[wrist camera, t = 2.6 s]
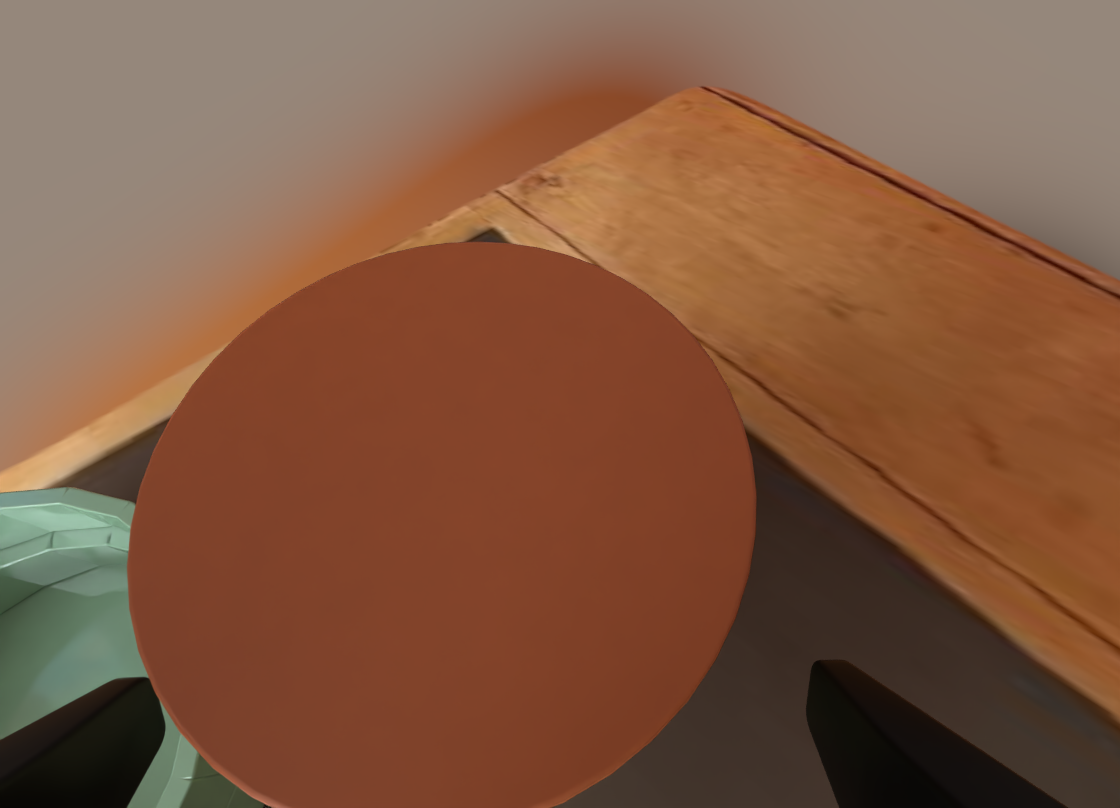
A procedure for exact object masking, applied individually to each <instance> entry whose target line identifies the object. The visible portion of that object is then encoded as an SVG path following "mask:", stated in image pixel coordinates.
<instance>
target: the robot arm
mask: <svg viewBox="0 0 1120 808" xmlns="http://www.w3.org/2000/svg"><path fill="white" fill-rule="evenodd" d="M806 716H807V722H808V726H809V729H810V732H811V734H812V737H813V740H814V742H815V745H816V748H817V750H818V753H819V755H820V758H821V761H822V763H823V766H824V769H825V771H826V774H827V777H828V779H829V782H830V784H831V787H832V790H833V792H834V795H835V798H836V800H837V803H838V805H839V808H1068V807H1066V806H1065V805H1063V804H1062V803H1060V802H1059V801H1057V800H1056V799H1054V798H1053V797H1051V796H1050V795H1048V794H1047V793H1045V792H1044V791H1042V790H1041V789H1039V788H1038V787H1036V786H1035V785H1033V784H1032V783H1030V782H1029V781H1027V780H1026V779H1024V778H1023V777H1021V776H1020V775H1018V774H1017V773H1015V772H1014V771H1012V770H1011V769H1009V768H1008V767H1006V766H1005V765H1003V764H1002V763H1000V762H999V761H997V760H996V759H994V758H993V757H991V756H990V755H988V754H987V753H985V752H984V751H982V750H981V749H979V748H978V747H976V746H975V745H973V744H972V743H970V742H969V741H967V740H966V739H964V738H963V737H961V736H960V735H958V734H957V733H955V732H954V731H952V730H951V729H949V728H948V727H946V726H944V725H943V724H941V723H940V722H938V721H937V720H935V719H934V718H932V717H931V716H929V715H928V714H926V713H925V712H923V711H922V710H920V709H919V708H917V707H916V706H914V705H913V704H911V703H910V702H908V701H907V700H905V699H904V698H902V697H901V696H899V695H898V694H896V693H895V692H893V691H892V690H890V689H889V688H887V687H886V686H884V685H883V684H881V683H880V682H878V681H877V680H875V679H874V678H872V677H871V676H869V675H868V674H866V673H865V672H863V671H862V670H860V669H859V668H857V667H856V666H854V665H853V664H851V663H849V662H847V661H845V660H818V661H816V662H814V664H813V665H812V668H811V673H810V681H809V689H808V697H807V705H806ZM165 731H166V724H165V719H164V715H163V711H162V708H161V704H160V700H159V698H158V697H157V695H156V693H155V691H154V689H153V686H152V684H151V682H150V679H149V678H147V677H121V678H116V679H113V680H111V681H109V682H107V683H105V684H103V685H101V686H100V687H98V688H96V689H94V690H92V691H90V692H88V693H86V694H85V695H83V696H81V697H79V698H77V699H75V700H73V701H72V702H70V703H68V704H66V705H64V706H62V707H60V708H59V709H57V710H55V711H53V712H51V713H49V714H47V715H45V716H44V717H42V718H40V719H38V720H36V721H34V722H32V723H31V724H29V725H27V726H25V727H23V728H21V729H19V730H18V731H16V732H14V733H12V734H10V735H8V736H6V737H4V738H3V739H1V740H0V808H127V807H128V805H129V803H130V801H131V799H132V798H133V796H134V794H135V792H136V790H137V789H138V787H139V785H140V783H141V781H142V779H143V778H144V776H145V774H146V772H147V770H148V769H149V767H150V765H151V763H152V761H153V760H154V758H155V756H156V754H157V752H158V750H159V749H160V747H161V744H162V742H163V739H164V736H165Z"/></svg>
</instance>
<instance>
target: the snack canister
mask: <svg viewBox="0 0 1120 808" xmlns="http://www.w3.org/2000/svg"><path fill="white" fill-rule="evenodd" d="M755 536H756V487H755V478H754V470H753V462H752V455H751V452H750V448H749V444H748V440H747V437H746V433H745V429H744V425H743V421H742V419H741V416H740V414H739V412H738V409H737V407H736V404H735V402H734V400H733V397H732V395H731V392H730V390H729V388H728V386H727V385H726V383H725V381H724V379H723V378H722V376H721V374H720V372H719V371H718V369H717V367H716V366H715V364H714V362H713V361H712V359H711V358H710V357H709V355H708V354H707V353H706V351H705V350H704V349H703V347H702V346H701V345H700V344H699V342H698V341H697V340H696V338H695V337H694V336H693V335H692V334H691V333H690V332H689V331H688V330H687V329H686V328H685V327H684V325H683V324H682V323H681V322H680V321H679V320H678V319H677V318H676V317H675V316H674V315H673V314H672V313H671V312H669V311H668V310H667V309H666V308H664V307H663V306H662V305H661V304H659V303H658V302H657V301H656V300H654V299H653V298H652V297H651V296H649V295H648V294H647V293H645V292H643V291H642V290H640V289H639V288H637V287H635V286H634V285H632V284H631V283H629V282H627V281H626V280H624V279H623V278H621V277H619V276H617V275H615V274H613V273H611V272H608V271H606V270H604V269H602V268H600V267H598V266H596V265H594V264H591V263H588V262H585V261H583V260H580V259H577V258H574V257H571V256H569V255H565V254H561V253H557V252H553V251H549V250H545V249H541V248H537V247H530V246H523V245H517V244H510V243H493V242H460V243H444V244H436V245H429V246H421V247H415V248H411V249H406V250H402V251H397V252H393V253H389V254H385V255H382V256H379V257H376V258H372V259H369V260H366V261H363V262H360V263H357V264H354V265H352V266H350V267H347V268H345V269H343V270H340V271H338V272H335V273H333V274H331V275H329V276H326V277H324V278H322V279H320V280H318V281H317V282H315V283H313V284H311V285H309V286H307V287H305V288H304V289H302V290H300V291H298V292H296V293H295V294H293V295H292V296H290V297H289V298H287V299H285V300H284V301H282V302H281V303H279V304H278V305H276V306H275V307H273V308H272V309H270V310H269V311H267V312H266V313H265V314H264V315H263V316H261V317H260V318H259V319H257V320H256V321H255V322H254V323H252V324H251V325H250V326H249V327H248V328H246V329H245V330H244V331H242V332H241V333H240V334H239V335H238V336H237V337H236V338H235V339H234V340H233V341H232V342H231V343H230V344H229V345H228V346H227V347H226V348H225V349H224V350H223V351H222V352H221V353H220V354H219V355H218V356H217V357H216V358H215V359H214V360H213V361H212V362H211V364H210V365H209V366H208V367H207V368H206V370H205V371H204V372H203V373H202V374H201V375H200V377H199V378H198V379H197V380H196V381H195V383H194V384H193V385H192V386H191V388H190V389H189V391H188V392H187V394H186V395H185V397H184V398H183V400H182V401H181V403H180V404H179V406H178V407H177V409H176V410H175V412H174V413H173V415H172V416H171V418H170V420H169V422H168V424H167V426H166V428H165V430H164V432H163V433H162V435H161V437H160V439H159V441H158V443H157V445H156V447H155V449H154V451H153V454H152V456H151V459H150V462H149V464H148V467H147V470H146V472H145V475H144V478H143V480H142V483H141V486H140V489H139V493H138V497H137V502H136V506H135V510H134V514H133V519H132V523H131V529H130V539H129V550H128V560H127V578H128V597H129V611H130V615H131V620H132V624H133V629H134V634H135V638H136V643H137V647H138V652H139V654H140V657H141V659H142V662H143V664H144V667H145V669H146V672H147V674H148V677H149V679H150V682H151V684H152V686H153V689H154V691H155V693H156V695H157V697H158V698H159V700H160V701H161V703H162V705H163V706H164V708H165V709H166V711H167V713H168V714H169V716H170V717H171V719H172V721H173V722H174V724H175V725H176V727H177V728H178V730H179V732H180V733H181V734H182V735H183V736H184V737H185V738H186V740H187V741H188V742H189V743H190V744H191V745H192V746H193V747H194V748H195V749H196V750H197V752H198V753H199V754H200V755H201V756H202V757H203V758H204V759H205V760H206V761H207V762H208V764H209V765H210V766H211V767H212V768H213V769H215V770H216V771H217V772H219V773H220V774H221V775H223V776H224V777H225V778H227V779H228V780H229V781H231V782H232V783H233V784H235V785H236V786H237V787H239V788H240V789H241V790H243V791H244V792H245V793H247V794H248V795H249V796H251V797H252V798H254V799H256V800H258V801H260V802H262V803H264V804H266V805H268V806H270V807H272V808H552V807H554V806H557V805H559V804H562V803H564V802H566V801H568V800H569V799H571V798H573V797H574V796H576V795H578V794H579V793H581V792H583V791H584V790H586V789H588V788H589V787H591V786H593V785H594V784H596V783H598V782H599V781H601V780H603V779H604V778H606V777H608V776H609V775H611V774H612V773H614V772H615V771H616V770H617V769H618V768H620V767H621V766H622V765H623V764H624V763H626V762H627V761H628V760H629V759H631V758H632V757H633V756H634V755H635V754H637V753H638V752H639V751H640V750H641V749H643V748H644V747H645V746H646V745H648V744H649V743H650V742H651V741H652V740H653V739H654V738H655V737H656V736H657V735H658V734H659V733H660V732H661V731H662V730H663V728H664V727H665V726H666V725H667V724H668V723H669V722H670V721H671V720H672V718H673V717H674V716H675V715H676V714H677V713H678V712H679V711H680V710H681V709H682V707H683V706H684V705H685V704H686V703H687V702H688V701H689V699H690V698H691V696H692V695H693V693H694V692H695V690H696V689H697V687H698V686H699V684H700V683H701V681H702V680H703V678H704V677H705V675H706V674H707V672H708V671H709V669H710V668H711V666H712V665H713V663H714V662H715V660H716V658H717V656H718V654H719V652H720V650H721V648H722V646H723V644H724V641H725V639H726V637H727V635H728V633H729V631H730V629H731V627H732V625H733V623H734V621H735V618H736V615H737V612H738V609H739V606H740V603H741V600H742V596H743V593H744V590H745V587H746V584H747V580H748V577H749V572H750V566H751V560H752V554H753V548H754V542H755Z"/></svg>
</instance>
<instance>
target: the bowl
mask: <svg viewBox="0 0 1120 808" xmlns="http://www.w3.org/2000/svg"><path fill="white" fill-rule="evenodd" d="M135 506H136V503H134V502H132V501H128V500H124V499H120V498H116V497H111V496H107V495H103V494H99V493H95V492H90V491H86V490H82V489H78V488H73V487H62V488H50V489H39V490H27V491H16V492H4V493H0V740H1V739H3V738H4V737H6V736H8V735H10V734H12V733H14V732H16V731H18V730H19V729H21V728H23V727H25V726H27V725H29V724H31V723H32V722H34V721H36V720H38V719H40V718H42V717H44V716H45V715H47V714H49V713H51V712H53V711H55V710H57V709H59V708H60V707H62V706H64V705H66V704H68V703H70V702H72V701H73V700H75V699H77V698H79V697H81V696H83V695H85V694H86V693H88V692H90V691H92V690H94V689H96V688H98V687H100V686H101V685H103V684H105V683H107V682H109V681H111V680H113V679H116V678H121V677H147V678H149V677H148V674H147V672H146V669H145V667H144V664H143V662H142V659H141V657H140V654H139V652H138V647H137V643H136V638H135V634H134V629H133V624H132V620H131V615H130V611H129V597H128V578H127V560H128V550H129V539H130V529H131V523H132V519H133V514H134V510H135ZM160 704H161V708H162V711H163V715H164V719H165V724H166V731H165V736H164V739H163V742H162V744H161V747H160V749H159V750H158V752H157V754H156V756H155V758H154V760H153V761H152V763H151V765H150V767H149V769H148V770H147V772H146V774H145V776H144V778H143V779H142V781H141V783H140V785H139V787H138V789H137V790H136V792H135V794H134V796H133V798H132V799H131V801H130V803H129V805H128V807H127V808H263V806H264V803H262V802H260V801H258V800H256V799H254V798H252V797H251V796H249V795H248V794H247V793H245V792H244V791H243V790H241V789H240V788H239V787H237V786H236V785H235V784H233V783H232V782H231V781H229V780H228V779H227V778H225V777H224V776H223V775H221V774H220V773H219V772H217V771H216V770H215V769H213V768H212V767H211V766H210V765H209V764H208V762H207V761H206V760H205V759H204V758H203V757H202V756H201V755H200V754H199V753H198V752H197V750H196V749H195V748H194V747H193V746H192V745H191V744H190V743H189V742H188V741H187V740H186V738H185V737H184V736H183V735H182V734H181V733H180V732H179V730H178V728H177V727H176V725H175V724H174V722H173V721H172V719H171V717H170V716H169V714H168V713H167V711H166V709H165V708H164V706H163V705H162V703H161V701H160Z"/></svg>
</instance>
